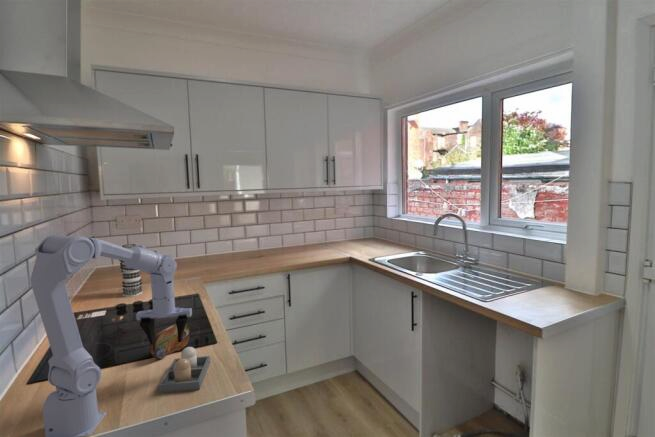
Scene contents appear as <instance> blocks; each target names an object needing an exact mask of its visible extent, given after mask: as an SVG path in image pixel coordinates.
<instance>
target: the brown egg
mask: <svg viewBox="0 0 655 437" xmlns="http://www.w3.org/2000/svg"><path fill="white" fill-rule="evenodd" d="M174 377H175V383H176V382H188V381H192V378H191V364H190V362H189V360H188V359H185V358H182V359H179V360H178V361H176V363H175V365H174Z"/></svg>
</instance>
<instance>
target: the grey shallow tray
mask: <svg viewBox="0 0 655 437" xmlns="http://www.w3.org/2000/svg"><path fill="white" fill-rule="evenodd" d="M179 359H181V357H180V358H174V359H173V361H172V362H171V364H170V366H169V367H168V368H167V371H166V373H165V374H164V376H163V378H162V379H161V380H160V382H159V384H158V392H159V394H162V393H163V394H164V393H176V392H184V391H185V392H186V391H196V390H198V391H199V390H201V387H202V385H203V382H204V380H205V377H206V375H207V373H208V369H209V367H210V365H211V356H210V355H205V356H197V368H192V369H191V378H192V381H188V382H176V383H175V377H174V365H175V363H176V361H178V360H179Z"/></svg>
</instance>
